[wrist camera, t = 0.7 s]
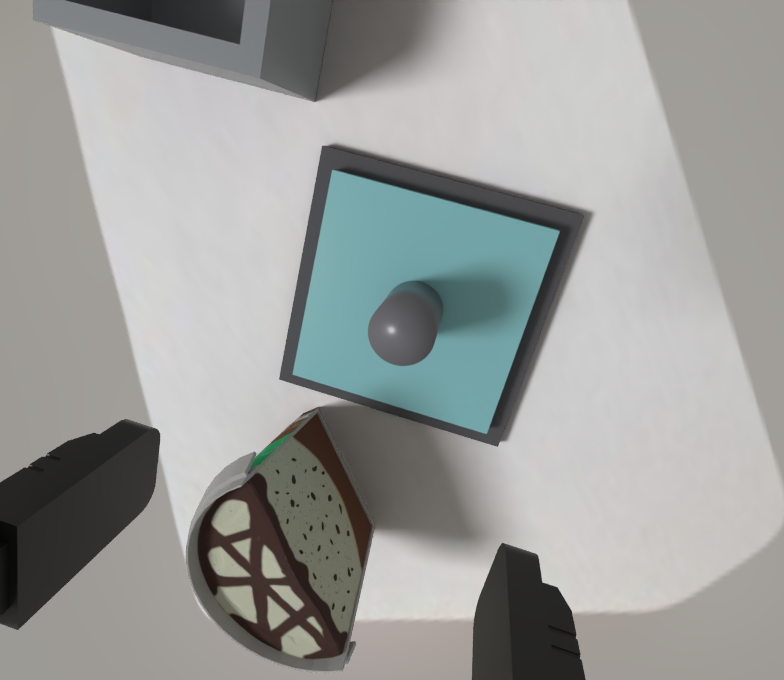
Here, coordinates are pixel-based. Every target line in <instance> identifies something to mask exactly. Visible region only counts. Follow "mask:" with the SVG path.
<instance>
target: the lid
mask: <svg viewBox="0 0 784 680" xmlns="http://www.w3.org/2000/svg"><path fill="white" fill-rule="evenodd" d="M559 232H560V231H559V230H558V229H554V228H550V227H546V226H543V225H539V224H535V223H532V222H528V221H524V220H521V219H517V218H513V217H509V216H506V215H502V214H498V213H495V212H491V211H487V210H483V209H480V208H476V207H472V206H469V205H465V204H461V203H458V202H454V201H450V200H446V199H443V198H439V197H435V196H432V195H428V194H424V193H420V192H417V191H413V190H409V189H406V188H402V187H398V186H395V185H391V184H387V183H383V182H380V181H376V180H372V179H369V178H365V177H361V176H357V175H354V174H350V173H346V172H343V171H339V170H332V174H331V179H330V184H329V189H328V194H327V199H326V205H325V210H324V215H323V220H322V225H321V230H320V235H319V241H318V246H317V251H316V256H315V261H314V266H313V272H312V277H311V282H310V287H309V292H308V297H307V302H306V308H305V313H304V318H303V323H302V328H301V333H300V339H299V344H298V349H297V354H296V359H295V364H294V369H293V375H295V376H299V377H302V378H305V379H308V380H312V381H315V382H318V383H321V384H325V385H328V386H331V387H335V388H338V389H341V390H344V391H348V392H351V393H354V394H357V395H361V396H364V397H367V398H370V399H374V400H377V401H380V402H383V403H387V404H390V405H393V406H396V407H400V408H403V409H406V410H410V411H413V412H416V413H419V414H423V415H426V416H429V417H432V418H436V419H439V420H442V421H445V422H449V423H452V424H455V425H458V426H462V427H465V428H468V429H472V430H475V431H478V432H481V433H485V434H487V432H488V429H489V426H490V424H491V421H492V418H493V415H494V413H495V410H496V407H497V404H498V402H499V399H500V396H501V393H502V390H503V388H504V385H505V382H506V379H507V377H508V374H509V371H510V368H511V366H512V363H513V360H514V357H515V354H516V352H517V349H518V346H519V343H520V341H521V338H522V335H523V332H524V329H525V327H526V324H527V321H528V318H529V316H530V313H531V310H532V307H533V305H534V302H535V299H536V296H537V293H538V291H539V288H540V285H541V282H542V280H543V277H544V274H545V271H546V268H547V266H548V263H549V260H550V257H551V255H552V252H553V249H554V246H555V244H556V241H557V238H558V235H559Z"/></svg>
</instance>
